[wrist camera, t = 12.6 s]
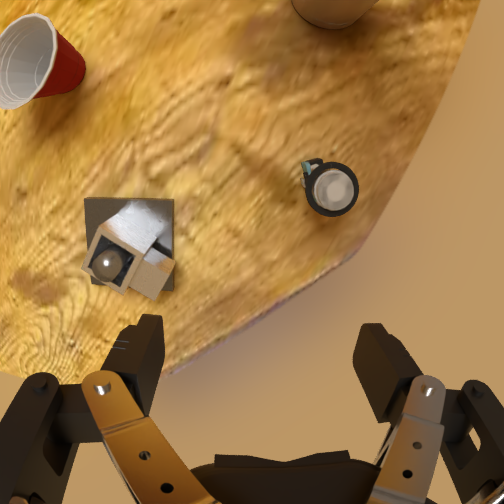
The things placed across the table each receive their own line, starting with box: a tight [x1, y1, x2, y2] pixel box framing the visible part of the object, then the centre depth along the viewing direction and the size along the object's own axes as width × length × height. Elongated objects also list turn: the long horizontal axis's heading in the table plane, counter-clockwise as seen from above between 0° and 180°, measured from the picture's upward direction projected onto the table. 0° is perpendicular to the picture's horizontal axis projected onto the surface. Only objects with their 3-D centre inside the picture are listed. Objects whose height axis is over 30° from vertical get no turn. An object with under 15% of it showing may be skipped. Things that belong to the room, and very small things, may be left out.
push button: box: [300, 158, 359, 217], centre depth 33 cm, size 7×5×10 cm
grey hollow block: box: [81, 213, 176, 301], centre depth 36 cm, size 10×6×6 cm, turn 57°
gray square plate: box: [84, 197, 174, 291], centre depth 35 cm, size 12×12×9 cm
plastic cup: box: [0, 13, 86, 109], centre depth 26 cm, size 11×11×12 cm
